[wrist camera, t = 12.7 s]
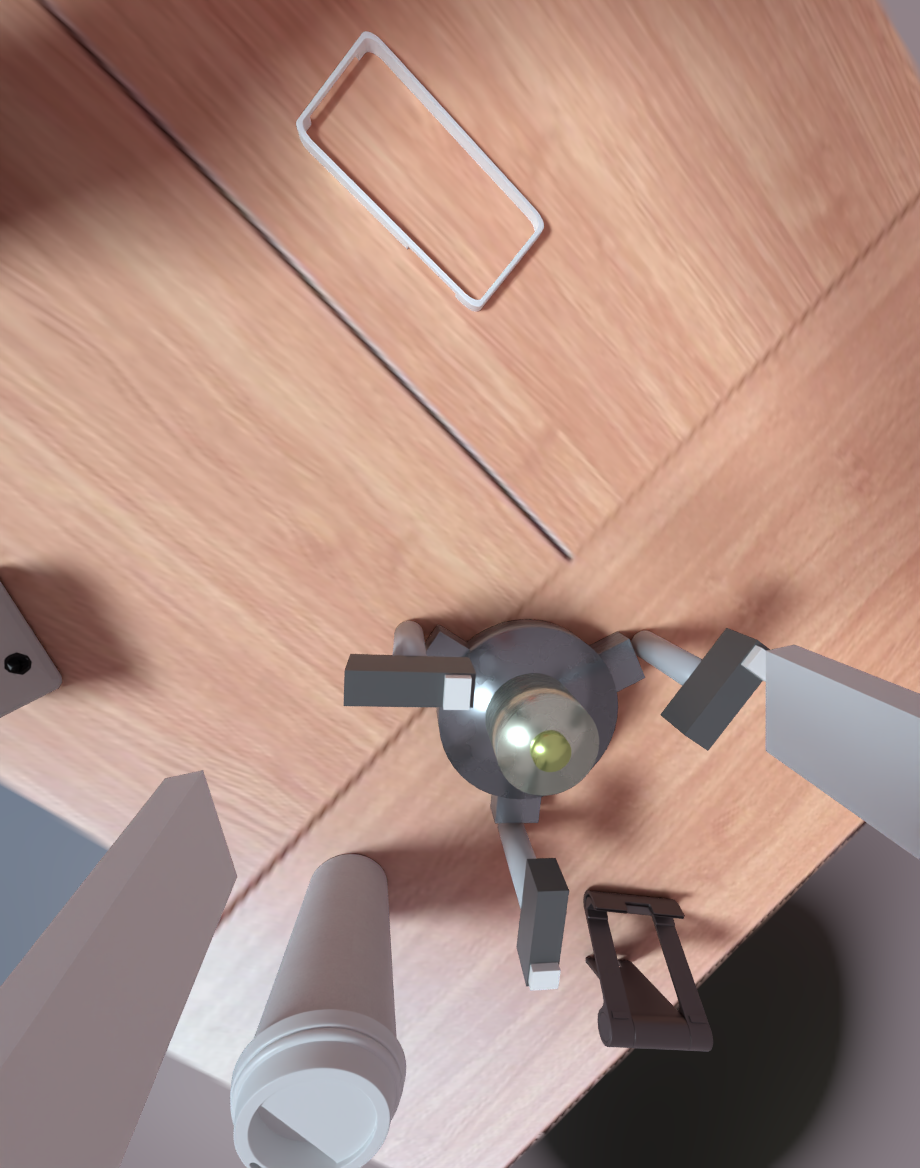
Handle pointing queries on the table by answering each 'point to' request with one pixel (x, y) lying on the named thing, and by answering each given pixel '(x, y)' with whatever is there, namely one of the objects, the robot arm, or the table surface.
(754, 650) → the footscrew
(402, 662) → the foot screw
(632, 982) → the portable electronic device stand
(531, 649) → the levelling base
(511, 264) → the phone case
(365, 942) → the coffee cup
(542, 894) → the foot screw
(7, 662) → the electrical switch
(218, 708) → the table surface
